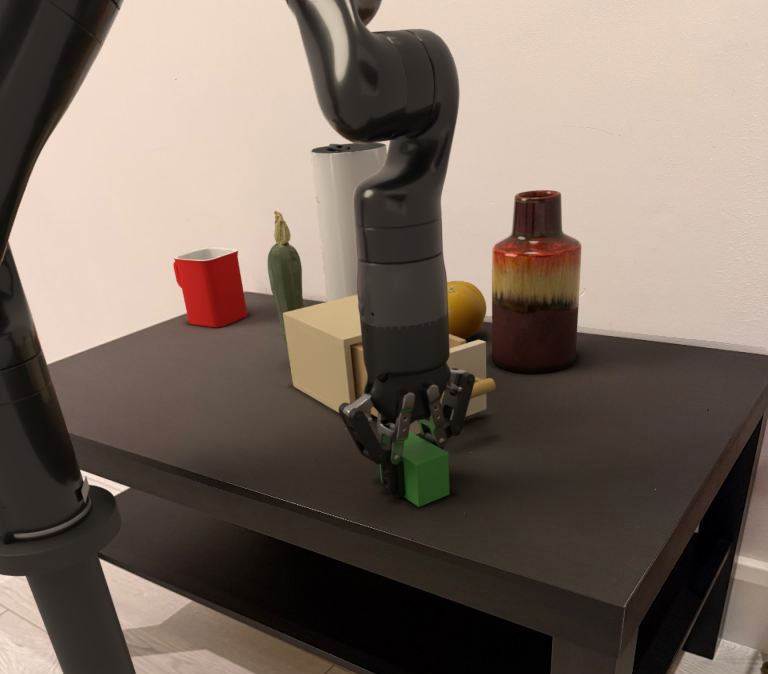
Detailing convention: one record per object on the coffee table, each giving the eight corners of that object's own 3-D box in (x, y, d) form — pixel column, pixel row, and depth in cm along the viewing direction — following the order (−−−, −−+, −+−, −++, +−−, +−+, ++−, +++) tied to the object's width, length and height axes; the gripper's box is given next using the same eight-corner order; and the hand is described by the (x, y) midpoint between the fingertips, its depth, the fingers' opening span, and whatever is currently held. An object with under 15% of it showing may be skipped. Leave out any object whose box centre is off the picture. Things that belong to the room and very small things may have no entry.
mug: (253, 314, 129) (242, 249, 124) (219, 329, 123) (206, 261, 118) (202, 308, 135) (189, 245, 130) (167, 321, 129) (152, 256, 124)
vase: (509, 342, 107) (510, 186, 97) (585, 349, 103) (595, 186, 92) (479, 368, 99) (477, 201, 89) (561, 378, 95) (569, 202, 84)
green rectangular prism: (449, 494, 72) (448, 452, 70) (418, 507, 70) (416, 464, 68) (410, 470, 77) (408, 430, 74) (380, 481, 75) (377, 441, 73)
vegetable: (312, 369, 104) (292, 213, 94) (280, 371, 104) (257, 216, 94) (315, 358, 108) (295, 207, 97) (284, 360, 108) (261, 210, 98)
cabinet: (439, 391, 94) (436, 314, 89) (351, 420, 88) (343, 339, 83) (374, 362, 105) (368, 291, 100) (293, 386, 99) (282, 312, 94)
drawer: (515, 422, 83) (515, 352, 79) (429, 454, 78) (425, 381, 74) (416, 377, 96) (413, 316, 92) (338, 402, 91) (331, 338, 87)
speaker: (388, 345, 110) (373, 145, 97) (320, 344, 113) (296, 149, 99) (406, 322, 119) (394, 136, 105) (342, 322, 121) (323, 140, 108)
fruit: (424, 349, 107) (421, 292, 103) (425, 331, 114) (422, 277, 110) (488, 346, 107) (487, 288, 102) (485, 328, 113) (484, 273, 109)
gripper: (355, 338, 59) (373, 528, 68) (497, 299, 65) (497, 477, 74) (308, 318, 64) (331, 496, 73) (443, 283, 71) (449, 451, 79)
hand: (414, 486), depth 73 cm, fingers closed on green rectangular prism, 3 cm apart
